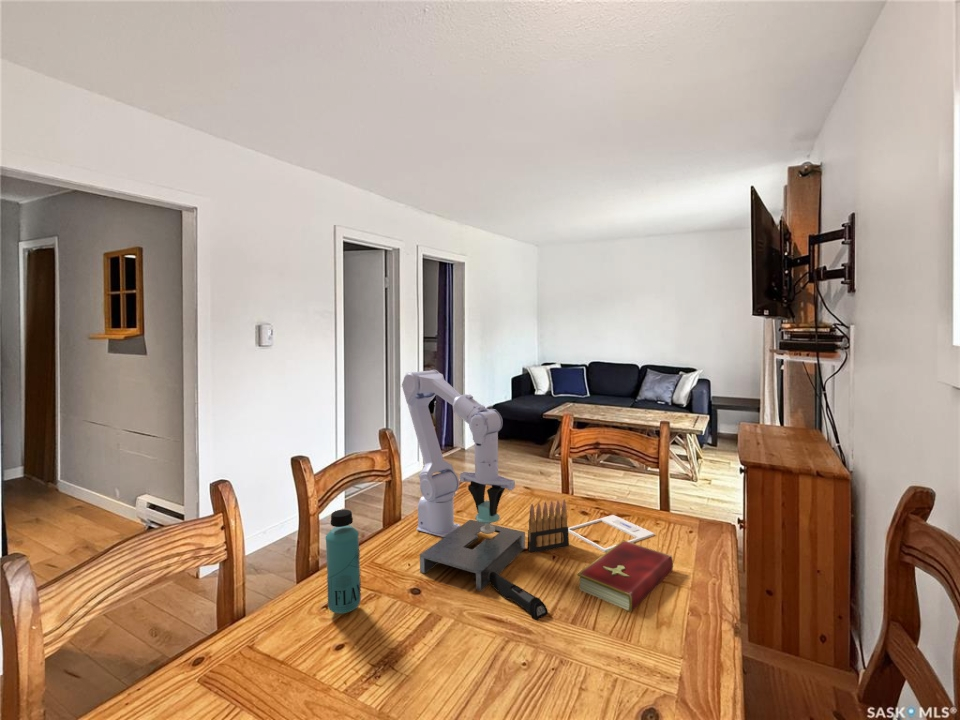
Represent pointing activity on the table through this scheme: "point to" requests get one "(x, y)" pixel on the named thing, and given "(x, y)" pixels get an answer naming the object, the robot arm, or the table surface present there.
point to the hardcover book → (625, 574)
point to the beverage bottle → (343, 564)
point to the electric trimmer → (518, 596)
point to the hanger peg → (486, 517)
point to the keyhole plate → (475, 551)
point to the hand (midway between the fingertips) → (487, 513)
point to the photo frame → (619, 524)
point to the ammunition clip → (548, 528)
